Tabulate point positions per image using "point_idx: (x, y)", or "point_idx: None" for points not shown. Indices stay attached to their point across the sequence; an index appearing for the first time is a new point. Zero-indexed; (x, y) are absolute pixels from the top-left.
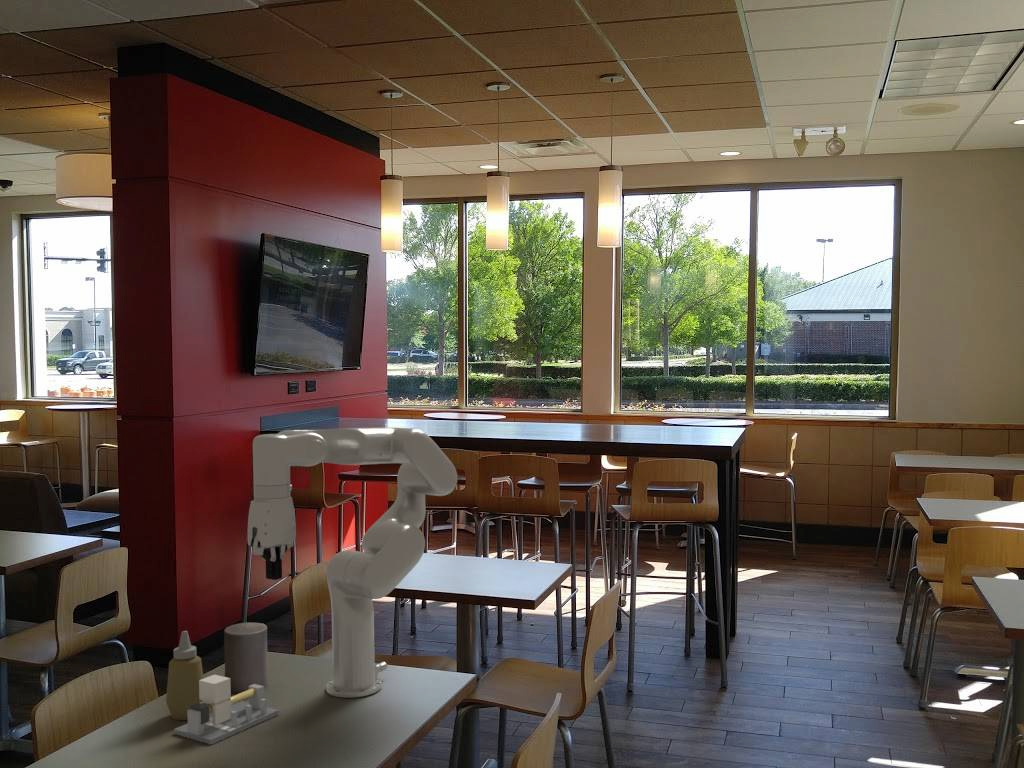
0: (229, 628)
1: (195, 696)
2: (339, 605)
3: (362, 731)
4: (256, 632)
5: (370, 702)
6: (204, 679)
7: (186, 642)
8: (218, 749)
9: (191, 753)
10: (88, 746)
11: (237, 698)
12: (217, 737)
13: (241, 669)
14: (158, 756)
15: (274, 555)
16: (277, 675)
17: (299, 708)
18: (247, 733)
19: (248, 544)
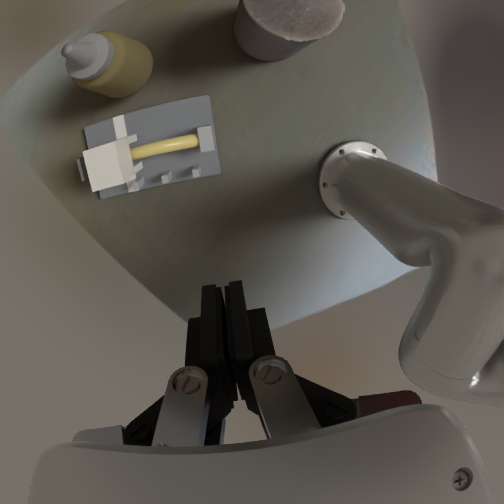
0: None
1: (118, 96)
2: (405, 245)
3: (252, 294)
4: (291, 38)
5: (327, 235)
6: (90, 154)
7: (75, 63)
8: (105, 215)
9: (79, 202)
10: (18, 98)
11: (159, 153)
12: (110, 196)
13: (246, 41)
14: (52, 183)
15: (214, 435)
16: (333, 36)
17: (257, 175)
18: (152, 197)
19: (42, 459)
